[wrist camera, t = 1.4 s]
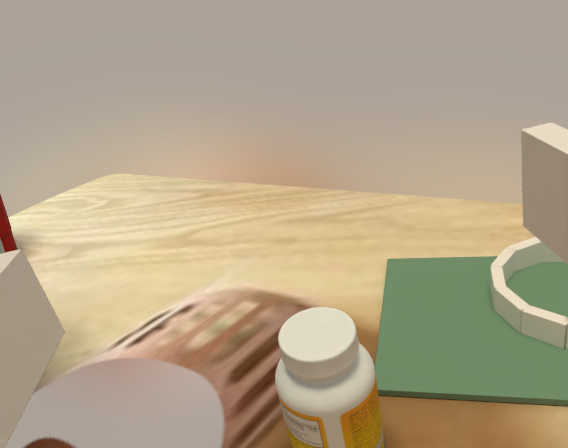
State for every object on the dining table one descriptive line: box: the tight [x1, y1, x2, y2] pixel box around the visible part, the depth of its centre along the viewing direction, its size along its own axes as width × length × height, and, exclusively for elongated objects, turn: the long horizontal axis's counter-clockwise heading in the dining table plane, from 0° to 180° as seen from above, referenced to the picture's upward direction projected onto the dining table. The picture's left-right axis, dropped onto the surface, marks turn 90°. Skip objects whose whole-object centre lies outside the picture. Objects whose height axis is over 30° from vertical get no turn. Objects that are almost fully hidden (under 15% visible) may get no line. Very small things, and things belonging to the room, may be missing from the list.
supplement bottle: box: [275, 307, 385, 448], centre depth 28 cm, size 5×5×10 cm
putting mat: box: [375, 256, 568, 406], centre depth 37 cm, size 19×15×1 cm
